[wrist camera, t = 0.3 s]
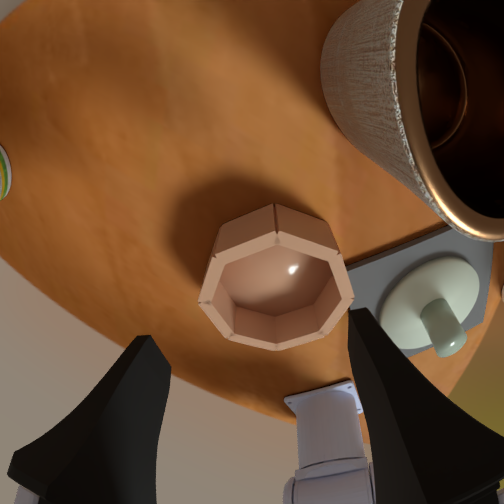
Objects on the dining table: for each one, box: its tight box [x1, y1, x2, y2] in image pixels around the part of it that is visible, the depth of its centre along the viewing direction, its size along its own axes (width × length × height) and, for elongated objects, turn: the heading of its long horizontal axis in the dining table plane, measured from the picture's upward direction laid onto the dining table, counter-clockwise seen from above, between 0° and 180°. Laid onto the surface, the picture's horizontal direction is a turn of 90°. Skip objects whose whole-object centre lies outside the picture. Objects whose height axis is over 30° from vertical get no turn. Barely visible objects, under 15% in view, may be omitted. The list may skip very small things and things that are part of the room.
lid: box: [379, 256, 479, 357], centre depth 19 cm, size 10×10×5 cm
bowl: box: [198, 203, 355, 351], centre depth 19 cm, size 9×9×4 cm
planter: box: [320, 0, 504, 242], centre depth 9 cm, size 11×11×10 cm
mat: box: [345, 225, 494, 358], centre depth 22 cm, size 14×14×1 cm
